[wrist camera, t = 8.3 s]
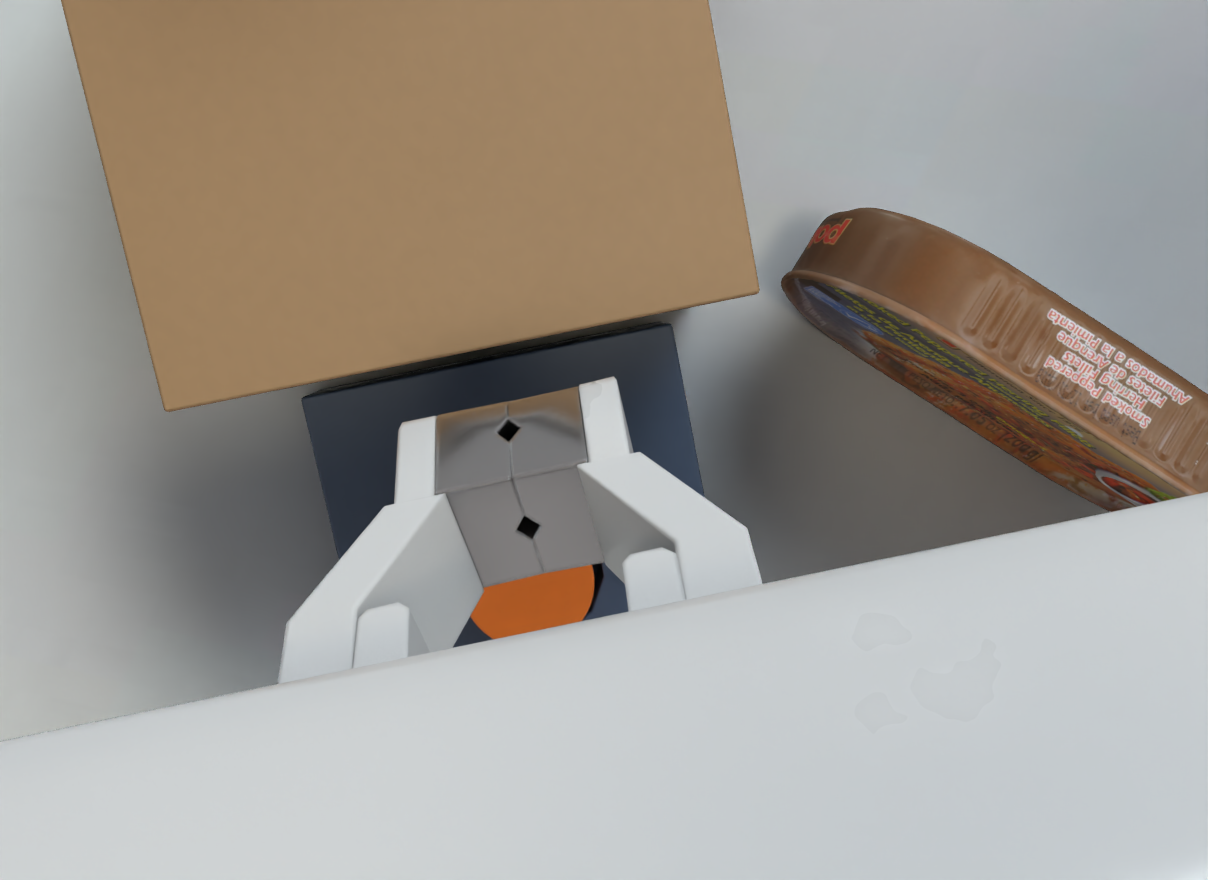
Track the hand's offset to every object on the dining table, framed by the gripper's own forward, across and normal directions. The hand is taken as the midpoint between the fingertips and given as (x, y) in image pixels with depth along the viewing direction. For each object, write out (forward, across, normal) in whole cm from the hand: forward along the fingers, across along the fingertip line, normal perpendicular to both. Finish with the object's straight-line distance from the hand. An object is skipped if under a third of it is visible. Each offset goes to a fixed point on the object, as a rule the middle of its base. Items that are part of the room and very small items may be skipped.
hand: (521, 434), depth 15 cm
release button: (+10, +3, +14) cm, 17 cm away
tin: (+16, -12, +15) cm, 25 cm away
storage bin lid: (+13, +2, -2) cm, 14 cm away
